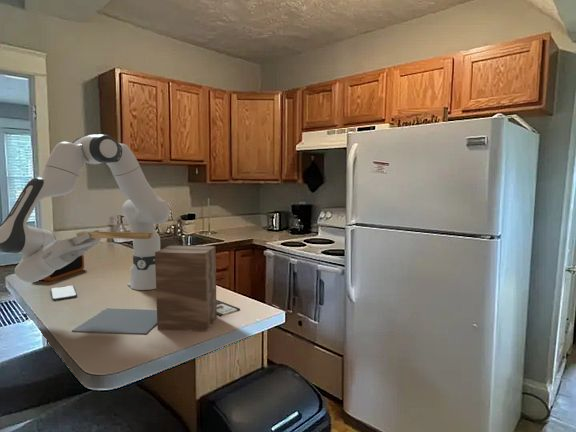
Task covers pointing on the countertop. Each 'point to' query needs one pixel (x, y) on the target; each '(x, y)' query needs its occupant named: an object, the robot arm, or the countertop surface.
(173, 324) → the walnut shelf
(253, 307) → the countertop surface
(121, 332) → the rubber mat
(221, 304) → the chocolate bar
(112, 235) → the ochre block
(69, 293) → the phone case
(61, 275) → the alarm clock
